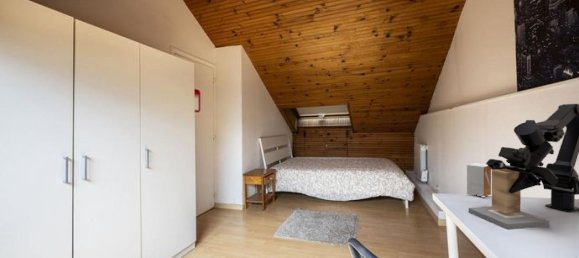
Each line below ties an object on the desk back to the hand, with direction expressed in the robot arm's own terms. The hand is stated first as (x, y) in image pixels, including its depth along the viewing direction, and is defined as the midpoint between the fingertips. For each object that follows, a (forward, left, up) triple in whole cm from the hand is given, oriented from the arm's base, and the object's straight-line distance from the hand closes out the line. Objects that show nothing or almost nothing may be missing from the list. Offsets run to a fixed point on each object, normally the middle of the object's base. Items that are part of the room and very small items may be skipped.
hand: (501, 190), depth 81 cm
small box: (-19, -21, -10) cm, 30 cm away
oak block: (-1, 0, -7) cm, 7 cm away
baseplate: (-1, 0, -9) cm, 10 cm away
